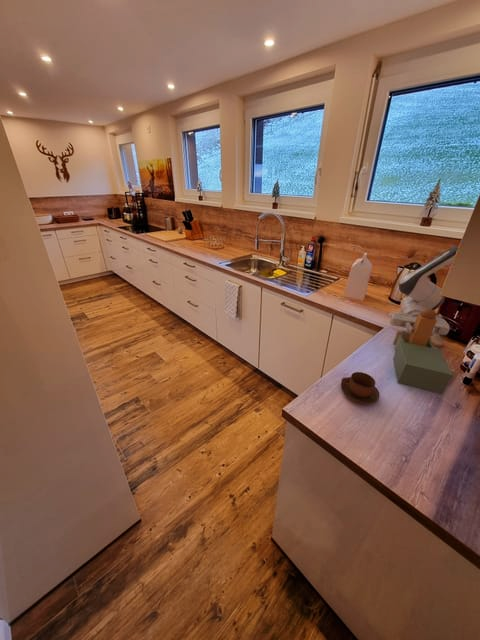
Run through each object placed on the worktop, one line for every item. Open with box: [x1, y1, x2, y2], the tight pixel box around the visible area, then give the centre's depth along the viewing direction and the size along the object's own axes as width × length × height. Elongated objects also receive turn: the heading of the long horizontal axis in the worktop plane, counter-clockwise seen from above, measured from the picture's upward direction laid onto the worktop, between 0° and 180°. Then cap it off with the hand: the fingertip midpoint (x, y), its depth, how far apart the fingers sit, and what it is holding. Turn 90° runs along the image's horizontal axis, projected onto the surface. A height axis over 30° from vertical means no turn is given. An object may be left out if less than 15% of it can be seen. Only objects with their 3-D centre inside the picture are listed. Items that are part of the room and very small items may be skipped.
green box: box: [392, 341, 454, 395], centre depth 95 cm, size 16×14×9 cm
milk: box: [342, 252, 373, 302], centre depth 157 cm, size 12×12×26 cm
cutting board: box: [430, 333, 446, 349], centre depth 123 cm, size 12×18×2 cm, turn 158°
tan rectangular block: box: [407, 309, 437, 346], centre depth 102 cm, size 5×5×20 cm
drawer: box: [391, 329, 435, 351], centre depth 107 cm, size 19×12×7 cm, turn 158°
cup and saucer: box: [340, 371, 381, 405], centre depth 87 cm, size 12×12×6 cm
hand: (421, 332), depth 101 cm, fingers closed on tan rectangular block, 5 cm apart
